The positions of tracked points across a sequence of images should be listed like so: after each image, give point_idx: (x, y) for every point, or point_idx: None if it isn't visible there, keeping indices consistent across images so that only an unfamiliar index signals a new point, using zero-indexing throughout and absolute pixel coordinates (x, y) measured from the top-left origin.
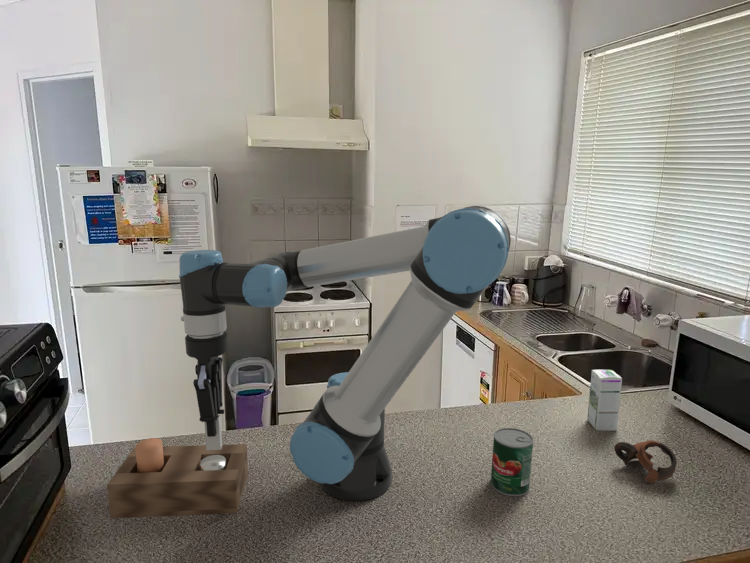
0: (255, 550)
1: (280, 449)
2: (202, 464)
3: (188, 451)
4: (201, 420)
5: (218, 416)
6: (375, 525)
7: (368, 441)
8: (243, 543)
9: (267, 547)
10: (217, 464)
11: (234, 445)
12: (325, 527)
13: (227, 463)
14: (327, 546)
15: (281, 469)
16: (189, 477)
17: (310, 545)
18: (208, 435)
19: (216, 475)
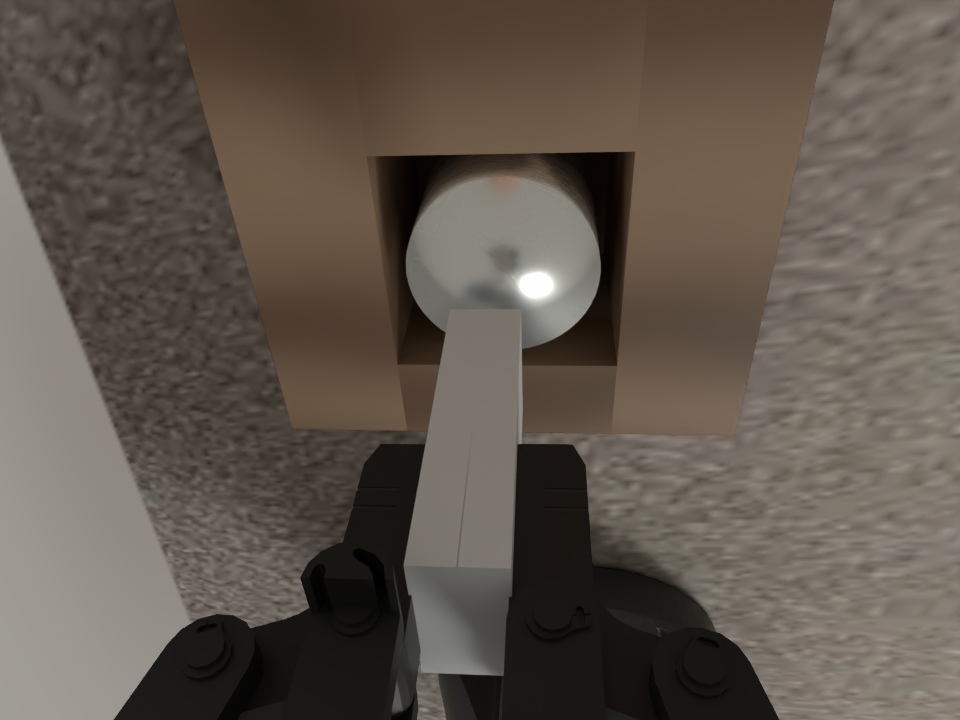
0: (132, 396)
1: (924, 424)
2: (456, 205)
3: (712, 5)
4: (167, 653)
5: (485, 667)
6: None
7: None
8: (156, 353)
9: (159, 429)
10: (458, 308)
11: (732, 368)
12: (300, 569)
13: (612, 292)
14: (212, 571)
15: (706, 440)
16: (273, 148)
17: (205, 535)
18: (374, 462)
19: (324, 325)
